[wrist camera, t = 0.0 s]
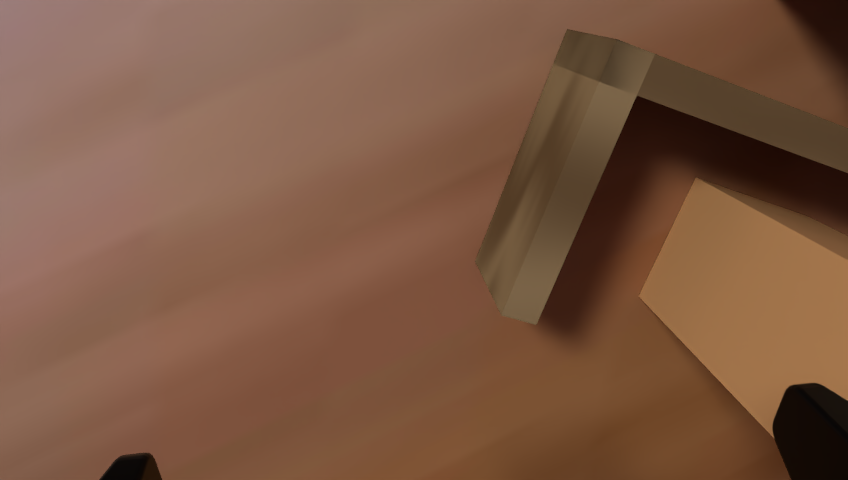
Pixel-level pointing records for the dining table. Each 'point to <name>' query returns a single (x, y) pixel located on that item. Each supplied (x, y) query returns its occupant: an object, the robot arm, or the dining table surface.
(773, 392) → the tan block
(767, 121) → the beige u-shaped block
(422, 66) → the dining table surface
